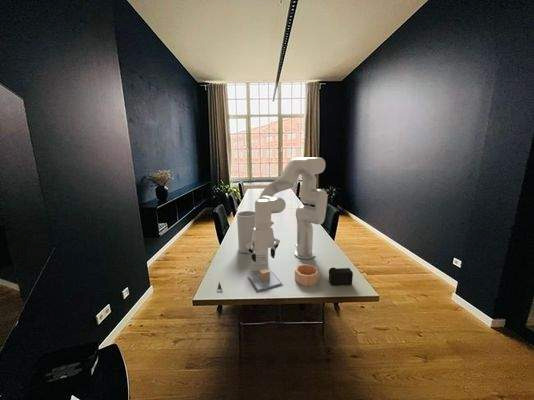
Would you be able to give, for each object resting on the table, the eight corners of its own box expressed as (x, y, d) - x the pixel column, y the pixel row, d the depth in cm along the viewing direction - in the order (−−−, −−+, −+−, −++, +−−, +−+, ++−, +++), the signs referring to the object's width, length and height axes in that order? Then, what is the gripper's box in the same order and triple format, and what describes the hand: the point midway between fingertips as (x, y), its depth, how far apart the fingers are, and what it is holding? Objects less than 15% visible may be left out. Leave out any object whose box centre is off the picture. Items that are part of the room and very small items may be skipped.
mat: (247, 278, 114) (247, 277, 114) (271, 272, 119) (271, 271, 119) (256, 294, 101) (256, 293, 101) (283, 286, 107) (283, 285, 106)
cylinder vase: (260, 247, 149) (260, 212, 144) (251, 255, 139) (249, 217, 133) (245, 244, 155) (244, 210, 149) (235, 251, 144) (233, 215, 139)
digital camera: (347, 278, 112) (348, 266, 110) (352, 285, 107) (353, 272, 105) (327, 279, 112) (328, 267, 110) (331, 286, 106) (331, 273, 105)
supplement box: (253, 263, 129) (252, 239, 125) (268, 263, 128) (268, 239, 125) (251, 272, 120) (250, 246, 116) (268, 272, 119) (267, 246, 116)
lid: (249, 277, 113) (249, 267, 112) (270, 272, 118) (270, 262, 116) (257, 291, 102) (257, 279, 101) (280, 284, 107) (280, 273, 106)
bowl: (291, 277, 114) (291, 267, 113) (309, 272, 118) (309, 262, 117) (302, 289, 104) (303, 278, 103) (322, 283, 109) (322, 272, 107)
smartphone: (216, 291, 103) (220, 274, 118) (216, 293, 103) (220, 275, 118) (231, 290, 104) (233, 273, 118) (232, 292, 104) (233, 274, 118)
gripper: (276, 221, 110) (276, 252, 114) (243, 225, 103) (244, 258, 107) (283, 225, 103) (282, 258, 107) (248, 230, 97) (248, 266, 100)
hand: (263, 258), depth 107 cm, fingers open, 9 cm apart
